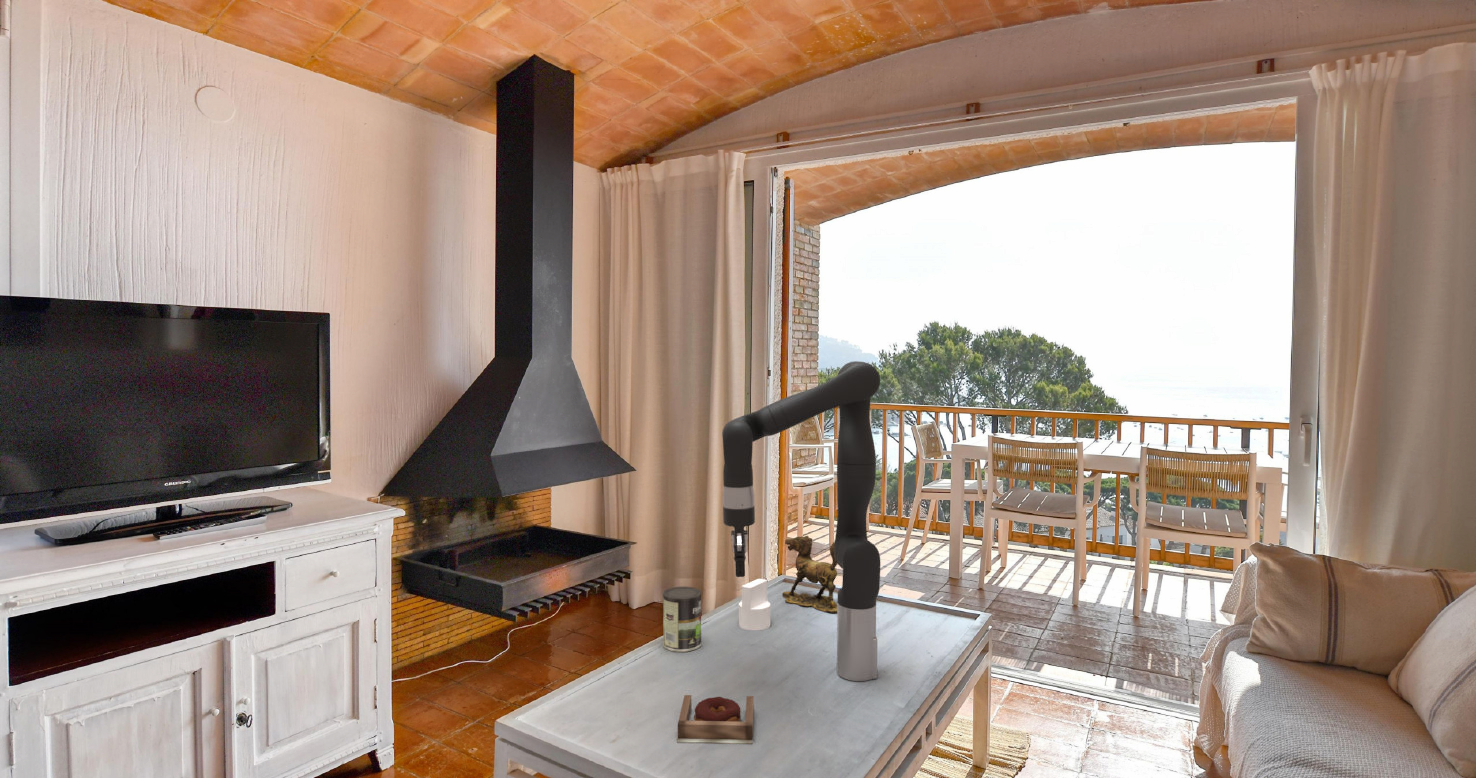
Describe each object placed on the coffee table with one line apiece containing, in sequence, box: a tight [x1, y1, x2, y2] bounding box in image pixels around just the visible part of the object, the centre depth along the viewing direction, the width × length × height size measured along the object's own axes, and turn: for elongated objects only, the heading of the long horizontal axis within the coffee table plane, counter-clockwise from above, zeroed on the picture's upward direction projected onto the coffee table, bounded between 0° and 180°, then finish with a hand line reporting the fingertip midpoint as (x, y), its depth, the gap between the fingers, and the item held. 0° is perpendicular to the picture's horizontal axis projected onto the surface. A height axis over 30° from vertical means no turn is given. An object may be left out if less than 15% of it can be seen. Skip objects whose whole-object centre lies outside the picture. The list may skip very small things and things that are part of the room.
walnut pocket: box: [676, 694, 755, 745], centre depth 151 cm, size 15×14×3 cm
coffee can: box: [662, 586, 703, 653], centre depth 193 cm, size 10×10×14 cm
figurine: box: [782, 535, 838, 615], centre depth 225 cm, size 13×25×20 cm, turn 42°
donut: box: [693, 696, 742, 722], centre depth 153 cm, size 10×10×4 cm
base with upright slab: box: [738, 578, 771, 632], centre depth 208 cm, size 9×9×12 cm
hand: (740, 575), depth 174 cm, fingers closed
